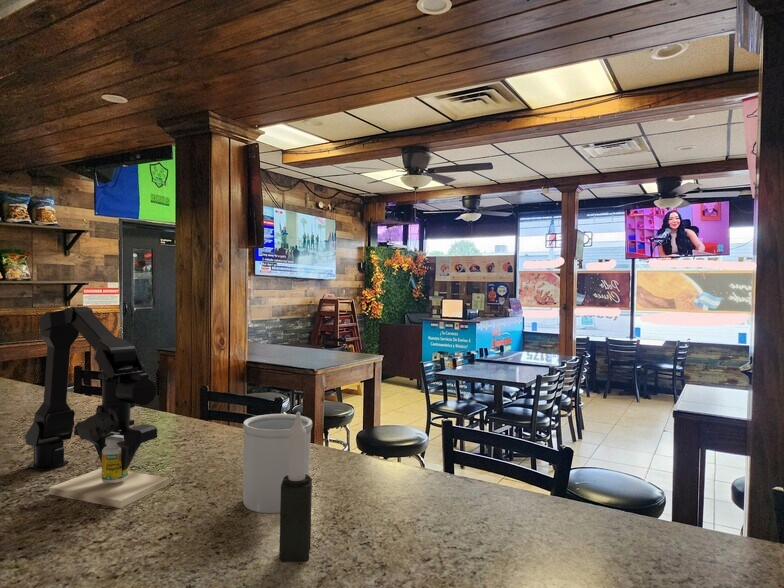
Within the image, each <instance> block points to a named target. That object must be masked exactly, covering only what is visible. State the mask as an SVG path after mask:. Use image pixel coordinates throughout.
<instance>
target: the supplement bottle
mask: <svg viewBox="0 0 784 588" xmlns="http://www.w3.org/2000/svg"><path fill="white" fill-rule="evenodd" d="M121 441H124V436H122V435H113V436H109V437H106V440H105V444H106V445H107V446H106V447H104V448H103V450H102V463H101V468H102V481H103V482H105V483H116V482H120V481H123V480H125V479H126V478H127V477H128V471H129V467H128V468H127V469H126V470H122V465H121V448H120V447H119V446H118V445H117V443H118V442H121Z"/></svg>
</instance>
